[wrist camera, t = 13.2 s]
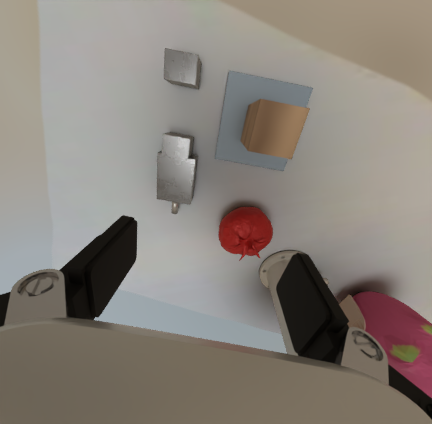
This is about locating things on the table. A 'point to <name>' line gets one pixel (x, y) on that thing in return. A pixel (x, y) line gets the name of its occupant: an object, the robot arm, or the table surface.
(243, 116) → the pad
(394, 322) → the pink dragon fruit
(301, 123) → the walnut peg
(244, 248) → the pomegranate
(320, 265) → the table surface
